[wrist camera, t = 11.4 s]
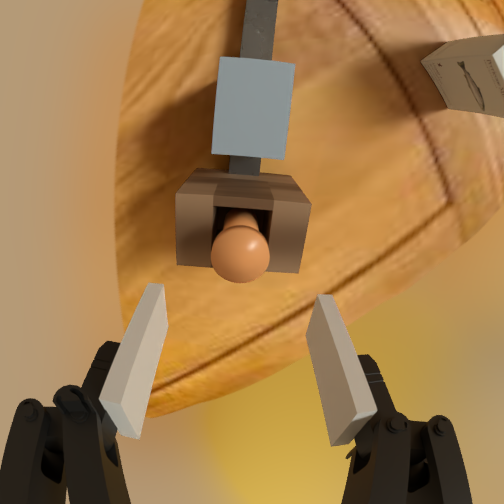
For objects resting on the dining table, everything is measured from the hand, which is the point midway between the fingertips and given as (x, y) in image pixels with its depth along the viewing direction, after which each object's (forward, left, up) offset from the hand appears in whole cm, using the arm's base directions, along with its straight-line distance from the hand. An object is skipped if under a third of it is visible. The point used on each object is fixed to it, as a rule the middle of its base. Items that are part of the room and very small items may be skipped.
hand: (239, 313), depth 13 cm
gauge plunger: (0, 0, -12) cm, 12 cm away
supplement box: (-21, +24, -19) cm, 37 cm away
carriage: (-10, 0, -19) cm, 21 cm away
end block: (0, 0, -19) cm, 19 cm away
